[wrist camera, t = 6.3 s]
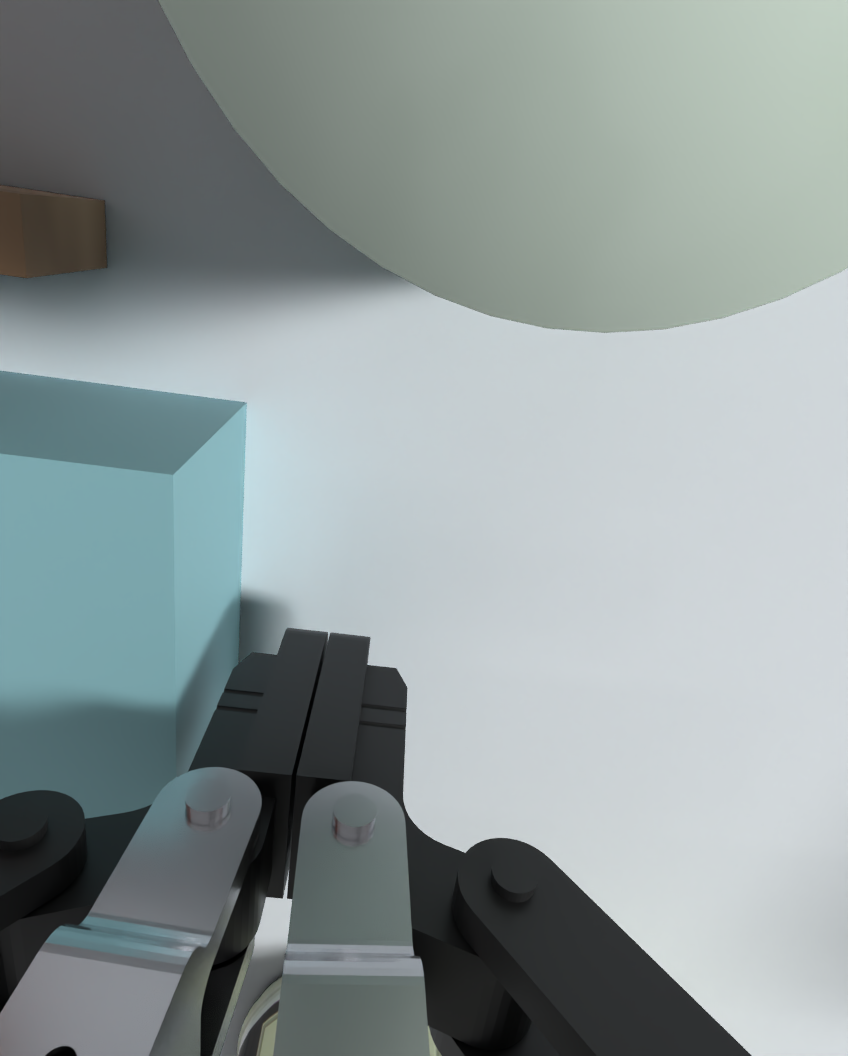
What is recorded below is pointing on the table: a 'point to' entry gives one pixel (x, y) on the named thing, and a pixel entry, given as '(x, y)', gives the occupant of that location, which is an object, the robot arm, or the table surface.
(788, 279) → the pale green dome
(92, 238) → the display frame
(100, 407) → the teal carton
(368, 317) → the table surface
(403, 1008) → the robot arm
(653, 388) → the table surface
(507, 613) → the table surface
